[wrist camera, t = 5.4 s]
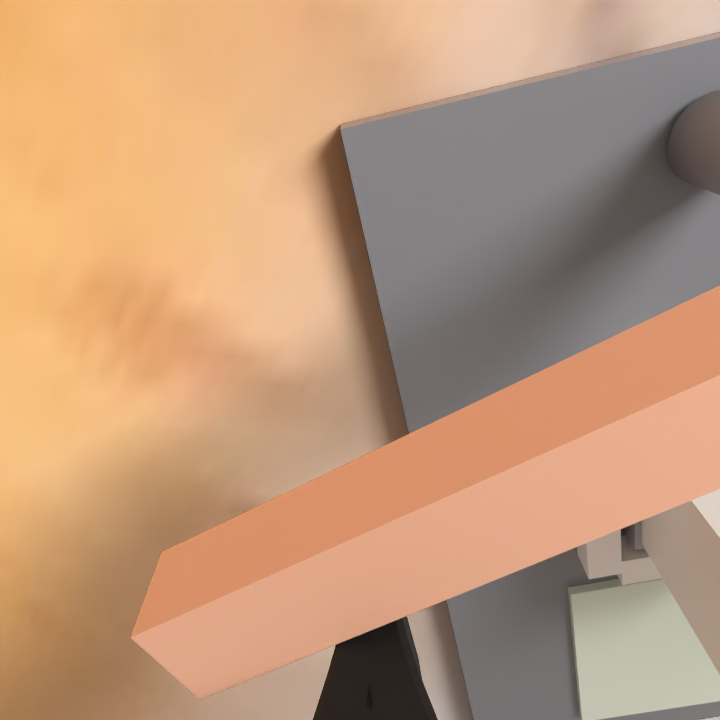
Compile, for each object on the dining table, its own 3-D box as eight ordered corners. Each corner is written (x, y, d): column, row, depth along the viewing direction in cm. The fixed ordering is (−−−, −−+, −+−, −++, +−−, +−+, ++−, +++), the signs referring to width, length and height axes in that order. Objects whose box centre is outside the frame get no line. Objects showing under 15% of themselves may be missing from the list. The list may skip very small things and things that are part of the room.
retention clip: (770, 156, 14) (1262, 284, 6) (269, 413, 16) (208, 706, 9) (748, 70, 13) (1285, 102, 5) (226, 356, 16) (120, 628, 8)
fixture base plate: (1074, -55, 13) (1190, -70, 11) (880, 664, 24) (924, 714, 22) (340, 123, 14) (339, 135, 12) (476, 727, 25) (486, 779, 23)
